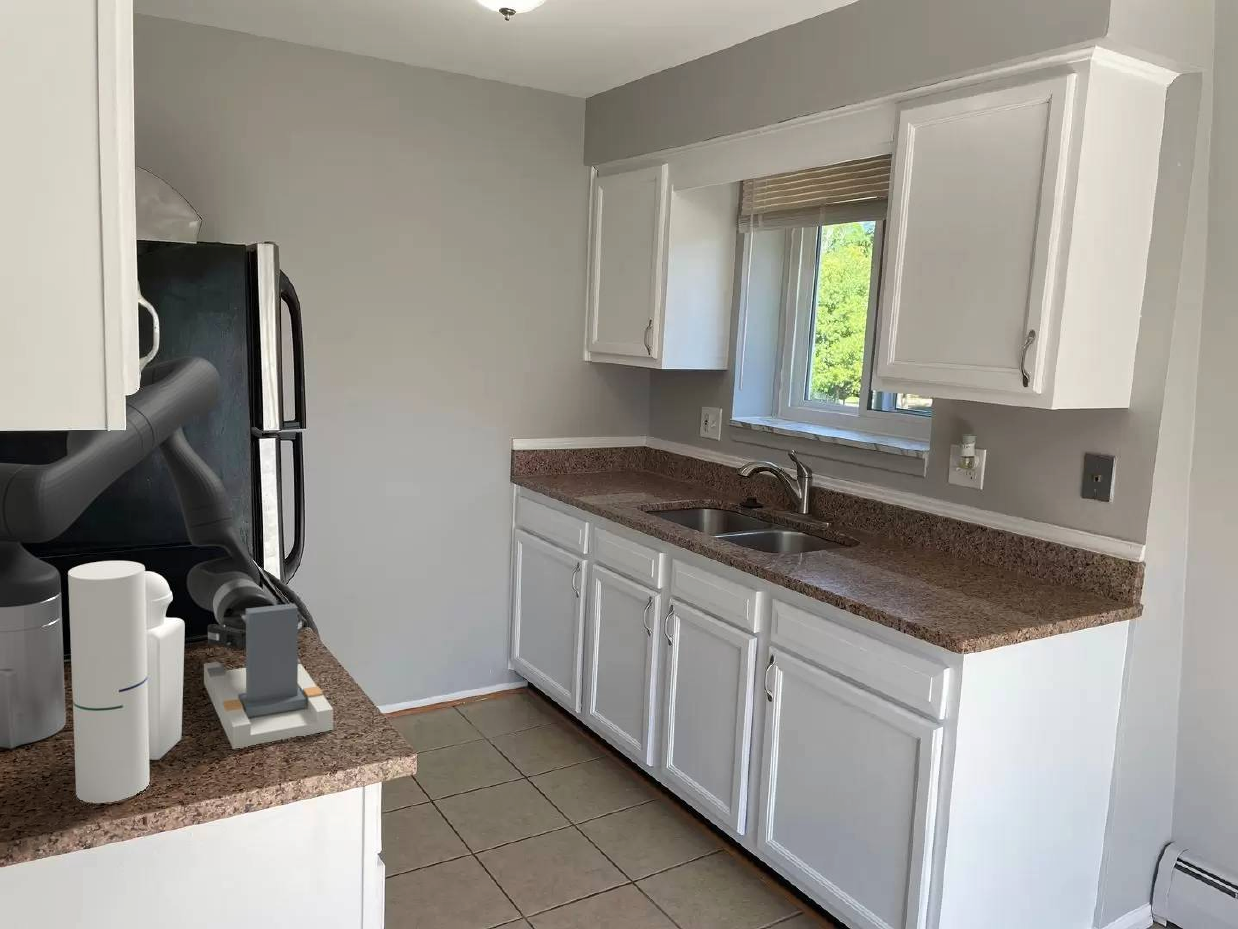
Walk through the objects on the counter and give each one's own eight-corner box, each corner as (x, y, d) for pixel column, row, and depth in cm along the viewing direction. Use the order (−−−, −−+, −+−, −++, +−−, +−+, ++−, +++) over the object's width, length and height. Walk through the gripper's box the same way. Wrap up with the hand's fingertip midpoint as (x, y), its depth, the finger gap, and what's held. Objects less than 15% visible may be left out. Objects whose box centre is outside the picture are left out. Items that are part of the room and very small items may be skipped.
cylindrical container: (162, 786, 104) (158, 570, 99) (96, 812, 98) (89, 583, 94) (128, 766, 107) (123, 557, 103) (63, 790, 102) (55, 569, 98)
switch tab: (238, 702, 122) (237, 606, 119) (296, 693, 126) (296, 599, 123) (245, 717, 117) (245, 617, 115) (305, 707, 121) (306, 610, 119)
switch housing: (204, 683, 131) (203, 661, 130) (291, 670, 137) (292, 649, 137) (233, 749, 113) (233, 724, 112) (332, 731, 119) (333, 707, 119)
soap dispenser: (187, 738, 115) (185, 566, 111) (160, 763, 109) (157, 581, 105) (135, 734, 115) (131, 562, 112) (105, 759, 109) (100, 578, 105)
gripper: (194, 590, 131) (215, 629, 117) (290, 580, 138) (321, 616, 124) (194, 641, 133) (215, 685, 118) (290, 629, 140) (321, 669, 125)
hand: (270, 650), depth 121 cm, fingers closed
